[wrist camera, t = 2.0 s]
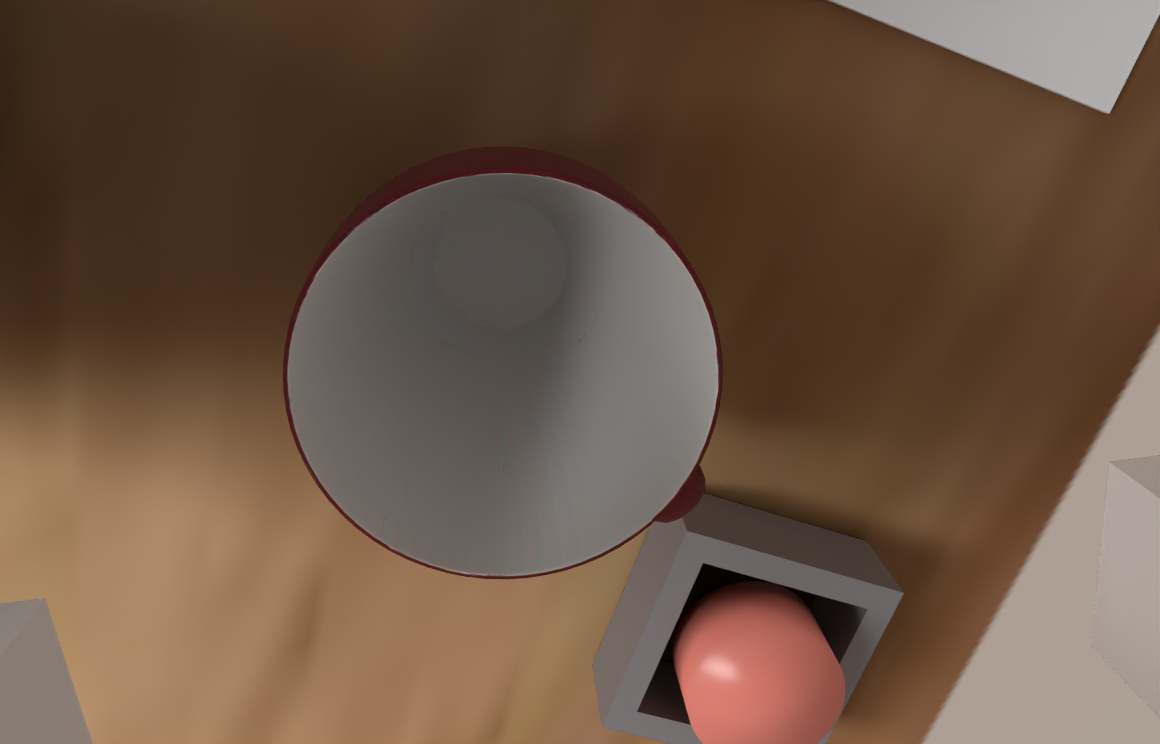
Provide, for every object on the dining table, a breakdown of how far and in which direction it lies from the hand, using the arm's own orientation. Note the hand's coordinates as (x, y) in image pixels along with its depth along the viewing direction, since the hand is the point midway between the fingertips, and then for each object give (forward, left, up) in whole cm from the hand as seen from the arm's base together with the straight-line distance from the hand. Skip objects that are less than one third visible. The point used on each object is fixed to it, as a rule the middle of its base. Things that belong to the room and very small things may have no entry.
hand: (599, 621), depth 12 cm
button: (+5, -11, -14) cm, 19 cm away
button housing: (+5, -11, -16) cm, 20 cm away
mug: (0, 0, -17) cm, 17 cm away
